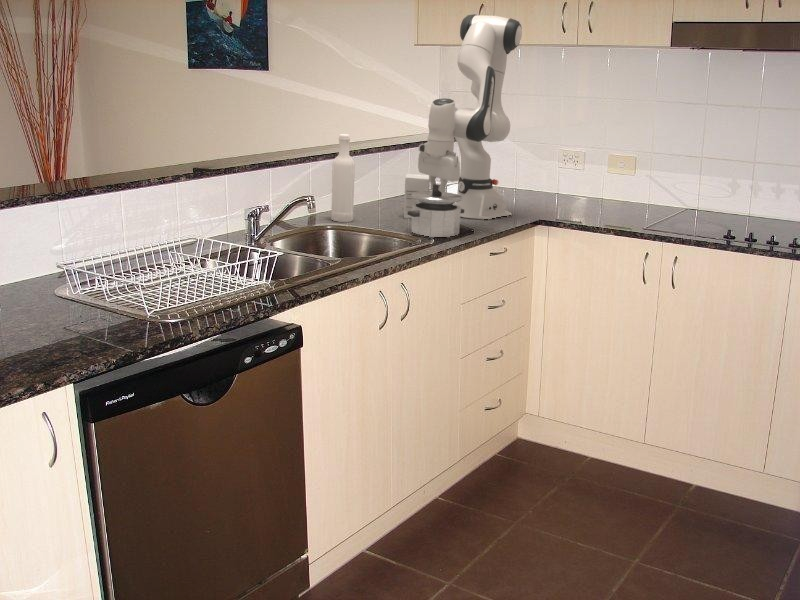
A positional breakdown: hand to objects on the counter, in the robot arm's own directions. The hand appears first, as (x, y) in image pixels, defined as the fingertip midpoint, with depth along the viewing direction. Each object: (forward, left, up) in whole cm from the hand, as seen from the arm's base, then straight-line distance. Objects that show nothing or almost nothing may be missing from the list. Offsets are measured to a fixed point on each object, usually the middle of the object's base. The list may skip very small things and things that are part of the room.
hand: (437, 190), depth 296 cm
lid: (0, 0, -4) cm, 4 cm away
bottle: (+21, -28, -15) cm, 38 cm away
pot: (0, 0, -14) cm, 14 cm away
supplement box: (-8, -25, -15) cm, 30 cm away
